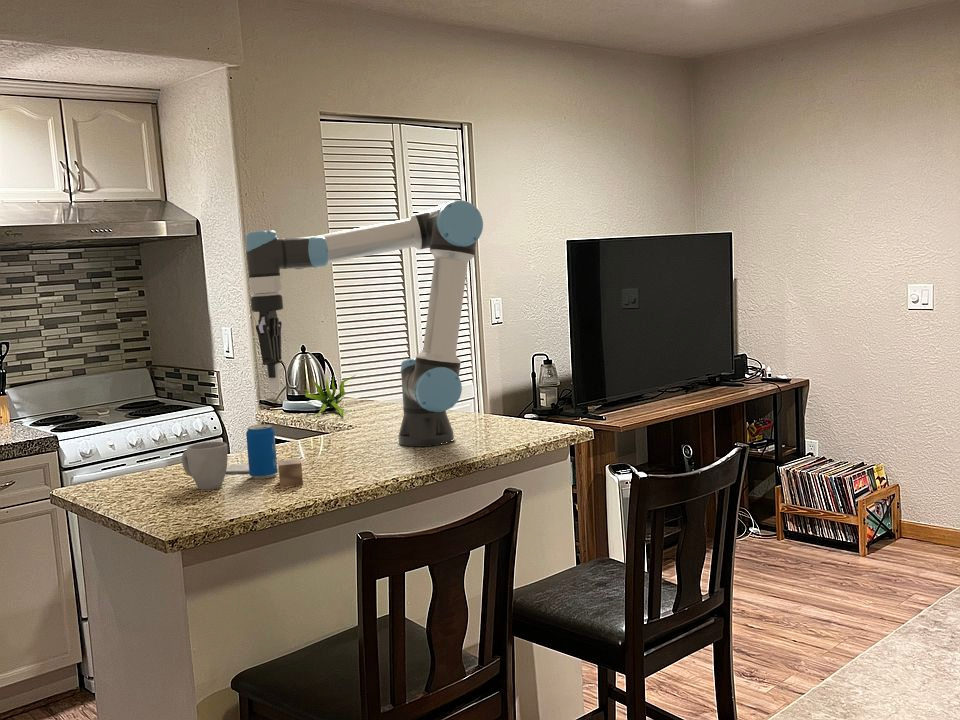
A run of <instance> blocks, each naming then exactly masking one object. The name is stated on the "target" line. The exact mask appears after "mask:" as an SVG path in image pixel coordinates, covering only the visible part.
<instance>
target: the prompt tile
mask: <svg viewBox="0 0 960 720" xmlns="http://www.w3.org/2000/svg"><path fill="white" fill-rule="evenodd" d="M241 474H242V475H244V474H245V475H246V474H249V463H233V464H231V465H230V466H227V469H226V474H225V475H241Z"/></svg>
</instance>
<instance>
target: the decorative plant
mask: <svg viewBox="0 0 960 720" xmlns="http://www.w3.org/2000/svg"><path fill="white" fill-rule="evenodd" d="M356 376H357V374H355V375H353V376H351V377H349V378H345V379H343V380H341V382H340V384H339V388H338V389H339V393H338V394H336V393H337V392H336V391H337V388H336V386H335V383H334V380H335V376H333V377H332V381H331V382H332V383H331V390H332V391H331V390H330V386H329V382H328V380H327V379H324V383H325V390H326V393H325V391H324V389H323V388H322V387H321V386H320V385H319V384H318V383H317V382H316V381H314V380H313V379H311V382H312V383H313V384H314V386H315V388H316V391H317V393H318V394H313V393H310V390H308V389H304V391H306V392H305V393H304V394H305V395H304V396H305V397H306V398H309V399H311V400H316V401H319V402H320V403H321V406H320V408H321V410H319V411H318V413H317V414H316V415H315V416H314V418H316V417H318V416H319V415H320V414H321V413H323V412H324V411H326V408H329V409H332V408H334V409H335V410H336V411H337V412H338V413H339V415H340V417H343V416H344V414H346V412H345V411H344V409H342V408H341V407H340V406H339V405H338V404H340V403H341V402H342V401H343V396H345V395H346V393H345V392H346V391H345V383H346V382H347V381H349V380H351V379H353V378H354V377H356ZM323 377H324V378H326V377H325V374H324V376H323Z"/></svg>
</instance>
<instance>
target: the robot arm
mask: <svg viewBox="0 0 960 720" xmlns="http://www.w3.org/2000/svg"><path fill="white" fill-rule="evenodd" d="M483 220H484V219H483V217H482V214H481V212H480V211H479V209H478V208H477V206H475V205H474V204H473V203H471V202H469V201H466V200H462V199H461V200H459V199H458V200H457V199H453V200H448V201H447V202H445V203H442V204H439V205H437V206H435V207H432V208H430V209H428V210H427V209H426V210H425V211H422V212H417V213H413V214H411V215H410V216H409V218H406V219H400V220H395V221H390V222H389V221H388V222H385V223H378V224H374V225H368V226H364V227H358V228H353V229H346V230H341V231H336V232H330V233H325V234H320V235H311V236H303V237H302V236H300V237H289V238H288V237H287V238H285V237H283V238H281V237H278V235H277V232H276V231H275V230H258V231H257V230H256V231H255V230H254V231H249V232H248V233H247V234H246V235H245V253H246V254H245V255H246V262H247V263H246V264H247V271H248V282H247V286H248V287H249V293H250V295H252V296H251V298H250V304H251V305H250V306H251V307H250V308H251V311H252V312H254V313H258V314H259V315H258V322H257V323H258V324H257V325H255V330H256V332H257V336H258V344H259V349H260V355H261V359H262V363H261V364H262V366H265V367H266V376H267V385H268V386H267V387H268V388H267V389H268V392H277V391H278V392H279V391H282V385H281V384H282V383H281V382H282V381H281V373H280V364H283V360H282V325H283V324H282V321H281V320H279V317H278V314H277V311H282V310H283V309H284V303H283V302H284V301H283V296H282V294H280V293H282V292H283V290H282V280H281V273H280V272H281V270H289V269H295V270H303V269H308V268H309V269H310V268H314V269H315V268H319V267H325V266H327V265H328V264H332V263H335V262H342V261H346V260H351V259H352V260H353V259H357V258H363V257H367V256H373V255H378V254H384V253H388V252H390V253H391V252H394V251H399V250H405V249H410V248H415V249H416V250H420V251H421V250H425V249H429V252H430V253H431V255H432V256H433V258H434V261H433V268H432V277H431V284H430V292H429V300H428V308H427V316H426V325H425V332H424V338H423V339H424V340H423V347H422V350H421V351H420V352H419V353H418V354H417V355H416V356H415V358H409V359H405V360H402V362H401V363H400V364H401V365H400V375H401V387H402V388H401V391H402V406H403V407H402V409H403V416H402V417H403V418H402V420H401V423H400V424H401V425H400V428H399V430H398V431H399V432H398V443H399V445H401V446H406V447H431V445H434V446H438V445H437V444H441V443H446V442H449V441H451V440H453V439H454V440H455V436H454V435H455V433H454V430H453V427H452V425H451V422H450V419H449V417H448V414H447V411H448V410H450V409H452V408H453V407H454V406H455V405H456V404H457V403H458V402H459V400H460V398H461V395H462V390H463V389H462V388H463V387H462V385H463V384H462V381H461V379H460V372H461V371H460V370H461V362H462V361H461V360H460V359H459V357H458V356H457V349H458V348H457V347H458V340H459V332H460V325H461V319H462V318H461V317H462V309H463V304H464V303H463V302H464V301H463V300H464V293H465V286H466V279H467V271H468V264H469V262H470V261H471V260H473V258H474V257H475V255H476V247H477V242H478V241H479V239H480V237H481V235H482V232H483V229H484V221H483ZM454 440H453V441H454ZM449 443H450V442H449ZM446 444H447V443H446ZM441 445H442V444H441Z"/></svg>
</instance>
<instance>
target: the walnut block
mask: <svg viewBox="0 0 960 720" xmlns="http://www.w3.org/2000/svg"><path fill="white" fill-rule="evenodd" d="M277 468H278V478H279V479H278V480H279V481H278V482H279V487H280V488H282V487H283V488H284V487H285V488H286V487H292V486H293V487H294V486H302V485H304V482H303V481H304V479H303V468H302V460H301V458H298V459H297V458H296V459H287V460H278V461H277Z"/></svg>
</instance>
